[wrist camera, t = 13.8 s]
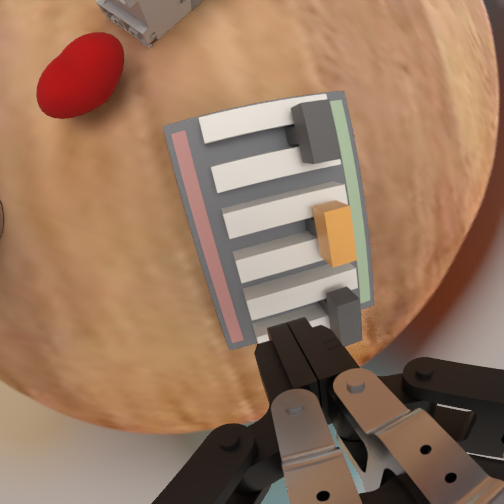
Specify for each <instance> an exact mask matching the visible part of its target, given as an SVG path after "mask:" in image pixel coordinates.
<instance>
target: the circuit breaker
mask: <svg viewBox="0 0 504 504" xmlns="http://www.w3.org/2000/svg"><path fill="white" fill-rule="evenodd" d="M96 3H97V4H98V6H99V7H100V9H101V10H102V11H103V13H104V14H106V15H107V18H108V19H110V20H111V21H112V22H114V23H115V24H117V25H118V26H120V27H121V28H122V29H124V30H125V31H127V32H128V33H129V34H131V35H132V36H134V37H135V38H136V39H138V40H139V41H140V42H142V43H143V44H145V45H146V46H147V47H149V48H150V47H151V46H152V44H150V43H151V42H152V41H154V40H155V39H157V40H159V39H160V38H161V37H162V36H163V35H164V34H165V33H166V32H167V31H169V30H170V29H171V28H172V27H173V26H174V25H175V24H176V23H178V22H179V21H180V20H181V19H182V18H183V17H185V16H186V15H187V14H188V13H189V12H191V11H192V10H193V9H194V8H196V7H197V6H198V5H199V4H201V3H202V0H98V1H97V2H96Z"/></svg>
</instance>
